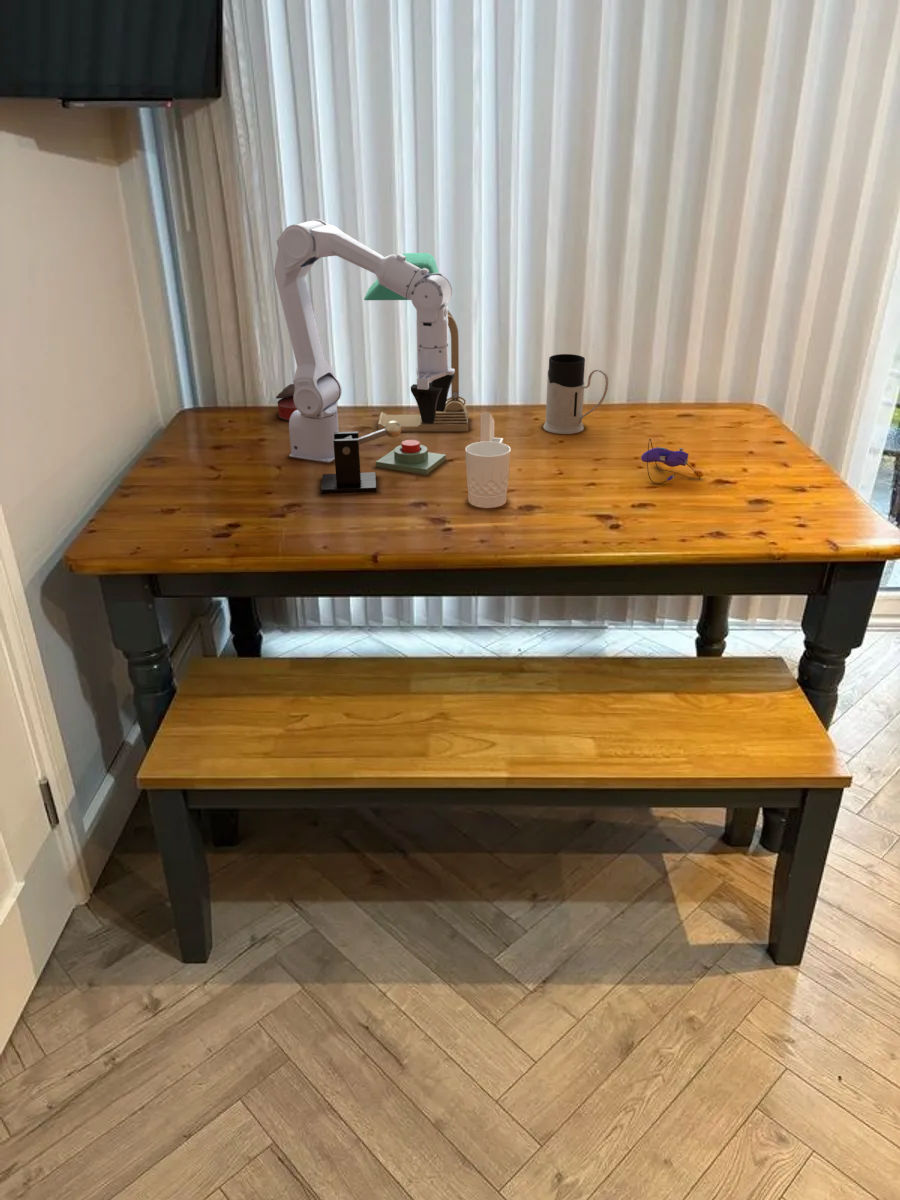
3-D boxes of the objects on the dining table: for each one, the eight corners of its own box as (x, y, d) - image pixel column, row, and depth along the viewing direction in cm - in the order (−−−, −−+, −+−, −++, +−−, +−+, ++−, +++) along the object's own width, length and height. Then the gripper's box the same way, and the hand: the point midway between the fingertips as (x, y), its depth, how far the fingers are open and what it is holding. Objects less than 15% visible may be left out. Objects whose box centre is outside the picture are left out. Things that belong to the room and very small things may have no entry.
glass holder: (556, 419, 211) (559, 351, 204) (613, 430, 204) (618, 360, 197) (535, 429, 205) (538, 359, 198) (594, 441, 198) (598, 369, 190)
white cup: (514, 496, 171) (516, 443, 166) (502, 513, 165) (503, 458, 160) (473, 491, 173) (473, 439, 169) (459, 507, 167) (459, 453, 162)
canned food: (284, 439, 215) (259, 401, 211) (297, 420, 223) (273, 384, 219) (324, 419, 210) (300, 380, 206) (336, 401, 219) (313, 363, 214)
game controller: (667, 442, 185) (706, 446, 177) (660, 484, 186) (698, 490, 178) (630, 435, 180) (668, 439, 171) (623, 478, 181) (660, 484, 173)
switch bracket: (375, 478, 180) (373, 428, 175) (376, 493, 173) (373, 442, 168) (322, 480, 179) (318, 430, 175) (321, 496, 172) (317, 444, 168)
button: (398, 452, 184) (398, 444, 183) (406, 447, 187) (406, 438, 186) (415, 455, 183) (414, 446, 182) (423, 449, 186) (422, 441, 185)
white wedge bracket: (476, 457, 182) (480, 412, 183) (483, 466, 192) (487, 423, 192) (495, 458, 182) (499, 413, 182) (501, 467, 192) (505, 424, 192)
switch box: (375, 468, 185) (375, 452, 183) (396, 454, 192) (396, 438, 190) (426, 476, 181) (426, 460, 179) (446, 461, 188) (446, 445, 186)
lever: (403, 431, 174) (397, 416, 172) (404, 436, 171) (398, 421, 170) (342, 452, 175) (336, 438, 173) (342, 458, 172) (336, 443, 171)
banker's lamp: (468, 436, 201) (468, 263, 184) (370, 437, 201) (361, 264, 185) (468, 414, 215) (467, 251, 198) (376, 414, 215) (368, 252, 199)
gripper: (443, 355, 167) (444, 430, 173) (463, 337, 179) (463, 407, 185) (405, 353, 168) (407, 427, 175) (427, 335, 180) (428, 404, 187)
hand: (433, 416), depth 180 cm, fingers open, 7 cm apart
